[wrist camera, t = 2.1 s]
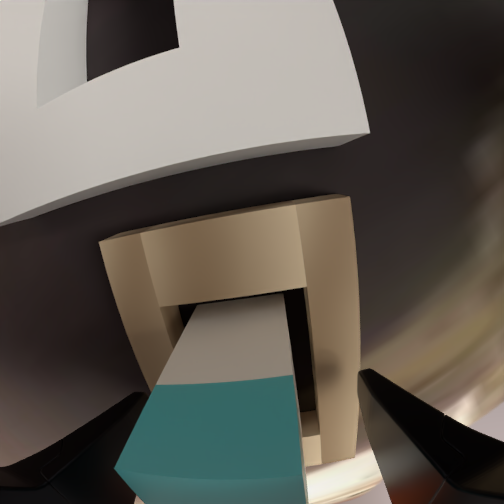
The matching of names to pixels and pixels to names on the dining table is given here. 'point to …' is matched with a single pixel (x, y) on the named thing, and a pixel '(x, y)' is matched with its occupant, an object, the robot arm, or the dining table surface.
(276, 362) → the plug
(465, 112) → the dining table surface
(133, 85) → the port block
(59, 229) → the dining table surface
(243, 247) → the holster
